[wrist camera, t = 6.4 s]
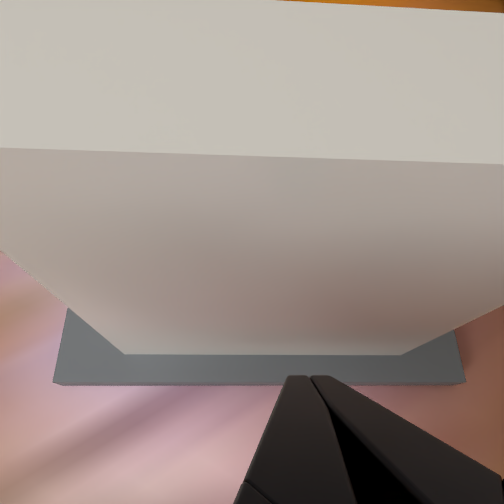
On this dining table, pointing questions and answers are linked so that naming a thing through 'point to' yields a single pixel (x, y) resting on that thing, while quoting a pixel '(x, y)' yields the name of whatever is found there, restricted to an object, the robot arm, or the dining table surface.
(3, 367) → the dining table surface
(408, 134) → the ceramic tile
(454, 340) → the slate board
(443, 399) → the dining table surface
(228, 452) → the dining table surface
